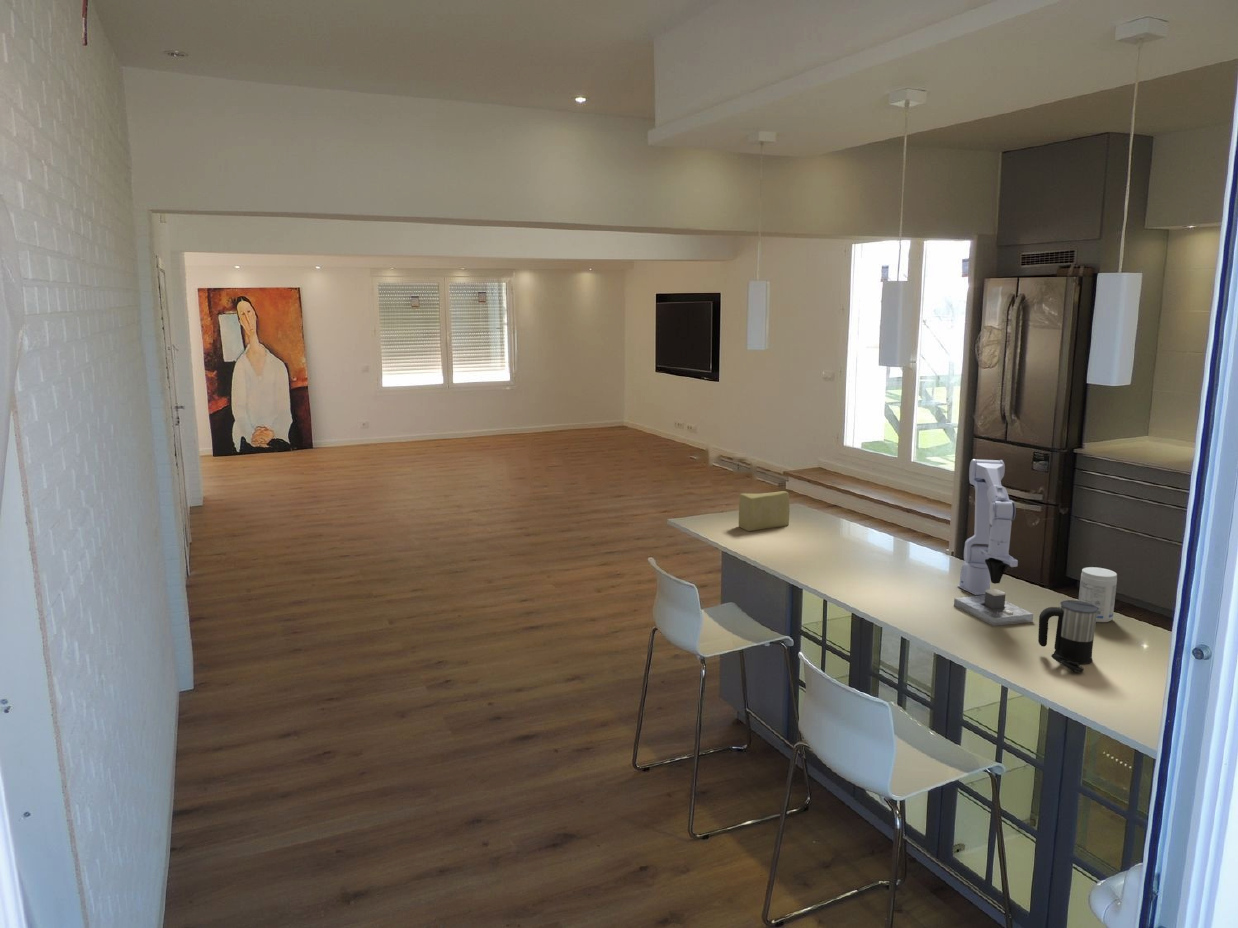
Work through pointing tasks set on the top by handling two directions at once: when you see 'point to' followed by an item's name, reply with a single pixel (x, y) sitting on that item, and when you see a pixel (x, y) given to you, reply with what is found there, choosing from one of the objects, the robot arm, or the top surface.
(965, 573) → the robot arm
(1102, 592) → the supplement tub
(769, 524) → the cheese
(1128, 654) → the top surface
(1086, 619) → the milk frother
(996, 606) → the plug
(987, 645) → the top surface
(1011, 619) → the socket plate
